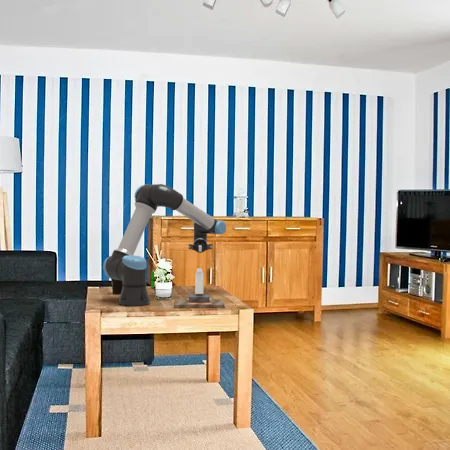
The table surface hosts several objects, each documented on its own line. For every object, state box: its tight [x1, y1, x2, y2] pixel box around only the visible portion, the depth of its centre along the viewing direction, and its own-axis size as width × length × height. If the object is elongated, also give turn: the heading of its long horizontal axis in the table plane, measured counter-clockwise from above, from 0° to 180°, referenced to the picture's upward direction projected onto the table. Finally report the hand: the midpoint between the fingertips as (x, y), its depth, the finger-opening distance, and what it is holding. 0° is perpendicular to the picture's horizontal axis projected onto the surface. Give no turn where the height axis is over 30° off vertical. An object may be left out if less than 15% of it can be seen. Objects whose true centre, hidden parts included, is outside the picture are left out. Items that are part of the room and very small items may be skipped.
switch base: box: [173, 294, 225, 309], centre depth 308 cm, size 24×18×4 cm
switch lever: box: [194, 267, 204, 295], centre depth 311 cm, size 4×3×13 cm, turn 92°
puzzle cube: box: [150, 270, 174, 289], centre depth 367 cm, size 10×10×10 cm
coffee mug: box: [110, 278, 123, 295], centre depth 347 cm, size 12×9×10 cm
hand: (200, 248), depth 325 cm, fingers closed
